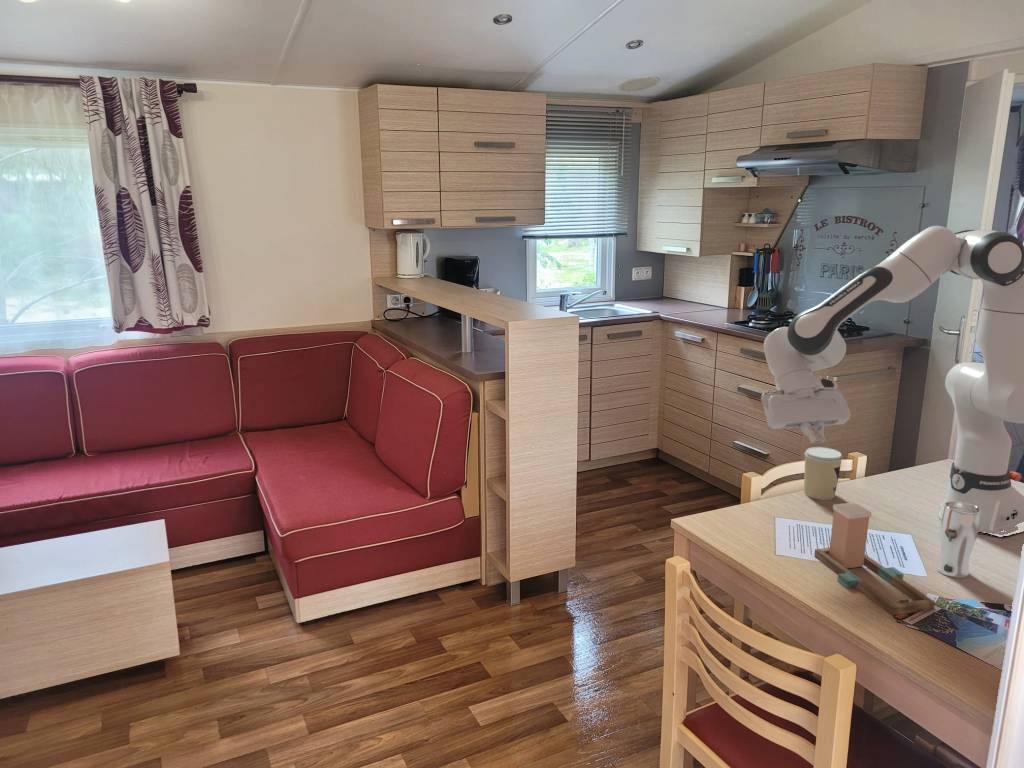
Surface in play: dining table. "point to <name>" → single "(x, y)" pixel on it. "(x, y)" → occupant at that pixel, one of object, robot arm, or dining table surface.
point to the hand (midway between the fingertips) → (818, 441)
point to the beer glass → (957, 537)
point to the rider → (849, 534)
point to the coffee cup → (821, 472)
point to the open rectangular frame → (888, 574)
